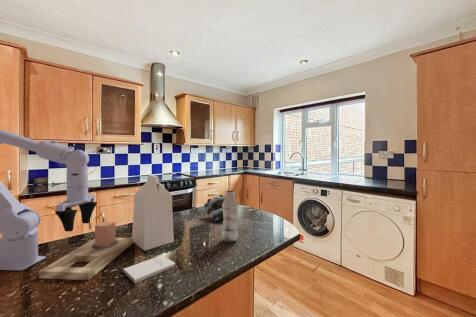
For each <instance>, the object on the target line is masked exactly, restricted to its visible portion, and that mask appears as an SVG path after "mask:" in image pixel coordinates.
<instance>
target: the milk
mask: <svg viewBox="0 0 476 317" xmlns="http://www.w3.org/2000/svg"><path fill="white" fill-rule="evenodd" d="M173 215H174V212H173V196H172V194H171V193H170V191H169V190H168V189H166V188H165V186H164V185H163V183H160V178H159V176H158V175H154V174H148V175H147V180H146V182H145V183H144V184H143V185H142V186H141V187H140V188H139V189H138V190H137V191H136V192H135V194H134V197H133V214H132V232H131V238H133V243H134V244H135V245H137V246H138V247H139V248H140V249H142V250H143V251H148V250H152V249H155V248H158V247H161V246H165V245H167V244H171V243H174V242H175V240H174V217H173Z"/></svg>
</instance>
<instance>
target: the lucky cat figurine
mask: <svg viewBox="0 0 476 317" xmlns="http://www.w3.org/2000/svg"><path fill="white" fill-rule="evenodd" d="M225 198H226V195H225V196H224V195H223V194H219V195H217V196H214V197H212V198H207V202H205V203H204V205H203V207H204V208H205V212H206V213H207V216H208V217H209V221H210V220H211V221H210V222H212V221H215V222H217V221H219V220H222V219H223V209H222V203H223V201H224V200H225Z"/></svg>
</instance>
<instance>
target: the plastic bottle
mask: <svg viewBox="0 0 476 317" xmlns="http://www.w3.org/2000/svg"><path fill="white" fill-rule="evenodd" d="M225 196H226V198H225V200H224V201H223V203H222V209H223V218H222V219H223V220H222V229H221V239H222V240H223V241H224V242H226V243H233V242H235V241H237V240H238V237H239V236H238V235H239V233H238V232H239V231H238V223H237V222H238V221H237V220H238V210H239V202H238V200H237V199H236V191H235V190H226V191H225Z"/></svg>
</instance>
